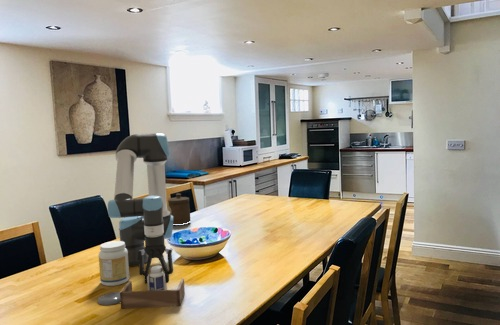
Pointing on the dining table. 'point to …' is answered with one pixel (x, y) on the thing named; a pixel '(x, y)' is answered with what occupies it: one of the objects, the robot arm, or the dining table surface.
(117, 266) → the supplement tub
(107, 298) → the coaster
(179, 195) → the wooden container
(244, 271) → the dining table surface
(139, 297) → the wooden u-shaped bracket
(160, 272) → the pill bottle
